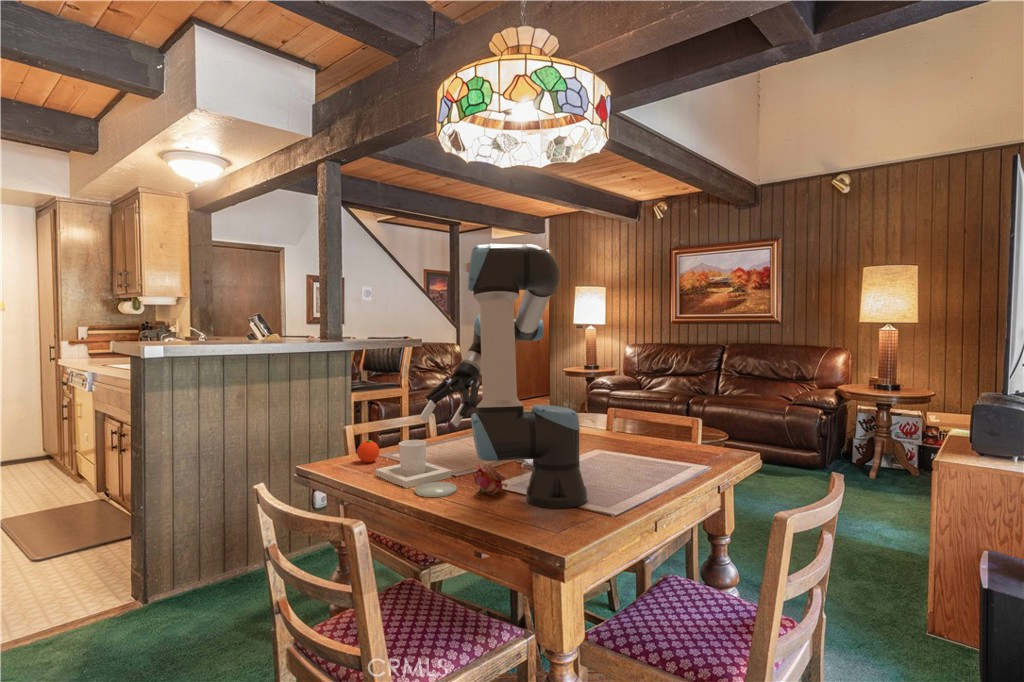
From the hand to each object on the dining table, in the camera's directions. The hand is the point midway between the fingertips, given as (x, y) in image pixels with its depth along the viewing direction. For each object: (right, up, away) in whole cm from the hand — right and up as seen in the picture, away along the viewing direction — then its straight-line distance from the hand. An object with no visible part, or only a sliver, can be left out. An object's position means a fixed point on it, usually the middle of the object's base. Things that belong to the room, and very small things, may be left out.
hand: (437, 421), depth 168 cm
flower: (+17, -15, -25) cm, 34 cm away
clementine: (-24, -15, +10) cm, 30 cm away
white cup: (-6, -15, -8) cm, 18 cm away
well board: (-6, -15, -8) cm, 18 cm away
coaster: (+2, -15, -22) cm, 27 cm away
